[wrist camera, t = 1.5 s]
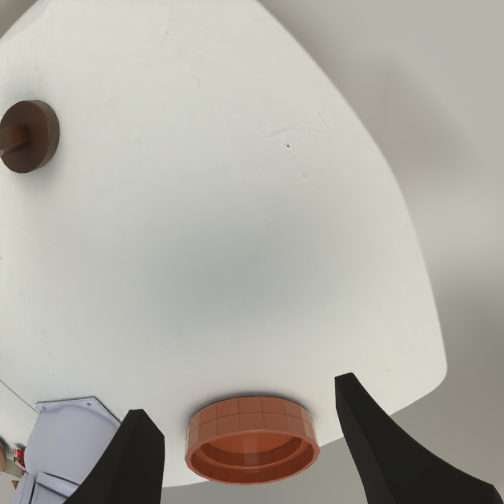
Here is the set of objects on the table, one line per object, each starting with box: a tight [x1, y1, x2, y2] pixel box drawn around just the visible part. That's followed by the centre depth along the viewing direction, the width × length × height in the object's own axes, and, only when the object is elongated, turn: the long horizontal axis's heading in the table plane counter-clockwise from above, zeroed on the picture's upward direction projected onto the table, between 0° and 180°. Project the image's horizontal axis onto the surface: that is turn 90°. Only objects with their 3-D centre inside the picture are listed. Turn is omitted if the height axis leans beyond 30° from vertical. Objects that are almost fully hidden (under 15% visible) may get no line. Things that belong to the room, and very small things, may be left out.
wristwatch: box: [0, 459, 25, 478], centre depth 31 cm, size 9×6×5 cm
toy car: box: [13, 447, 27, 472], centre depth 30 cm, size 4×8×3 cm, turn 31°
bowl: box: [185, 396, 320, 485], centre depth 25 cm, size 12×12×4 cm
